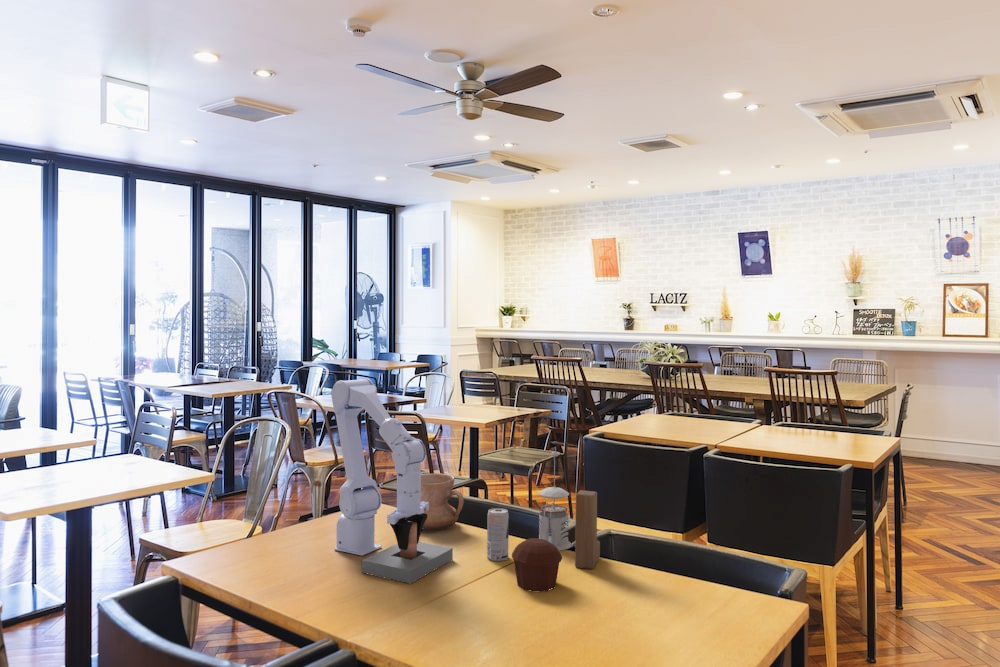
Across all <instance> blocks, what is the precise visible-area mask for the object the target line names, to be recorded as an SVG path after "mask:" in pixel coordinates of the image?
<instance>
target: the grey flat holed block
mask: <svg viewBox="0 0 1000 667" xmlns="http://www.w3.org/2000/svg"><path fill="white" fill-rule="evenodd" d="M453 553H454V552H453V547H450V546H448V547H447V546H442V545H439V544H438V545H437V544H434V543H433V544H432V543H427V542H422V541H421V542H420V541H419V542H418V544H417V557H416V558H414V559H412V560H409V559H405V558H400V549H399V547H398V543H396V544H394V545H391V546H390V547H388V548H385V549H382V550H381V551H379V552H376V553H374V554H372V555H370V556H368V557H365V558H363V559H362V560H361V573H362V572H363V573H362V574H364V573H368V574H367V575H369V574H373V575H376V576H375V577H378V576H380V577H379V578H382V577H385V578H384V579H387V578H388V579H387V580H391V579H393V580H392V581H395V580H397V581H396V582H400V581H402V582H401V583H404V582H407V583H406V584H409V583H411V584H412V582H413V583H414V581H415V580H416V581H418V580H419V578H420V577H422V576H424V575H425V574H427V573H429V572H431V571H432V572H434V571H435V570H434V569H436V568H438V567H440V566H441V567H443V566H445V565H447V564H448V563H450V562H452V561H453V558H454V557H453V555H454V554H453ZM451 560H452V561H451ZM446 563H447V564H446ZM444 564H445V565H444ZM442 565H443V566H442ZM441 567H440V568H441ZM438 569H439V568H438ZM433 570H434V571H433ZM436 570H437V569H436ZM432 572H431V573H432ZM429 574H430V573H429ZM373 575H372V576H373ZM427 575H428V574H427ZM425 576H426V575H425ZM425 576H424V577H425ZM422 578H423V577H422ZM417 579H418V580H417ZM420 579H421V578H420ZM416 581H415V582H416Z"/></svg>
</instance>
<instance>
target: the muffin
mask: <svg viewBox="0 0 1000 667" xmlns="http://www.w3.org/2000/svg"><path fill="white" fill-rule="evenodd" d="M560 551H561V550H558V548H557V547H556V546H555V545H553V544H552V543H550V542H549V541H547V540H544V539H539V537H537V538H533V537H532V538H527V539H525V540H523V541H521V542H519V543H518V544H517V545H516V547H515V548H514V549H513V551H512V553H511V558H512V560H513V563H514V569H515V576H516V578H515V579H516V583H517V586H518V587H519V588H521V589H522V588H523V589H524V591H528V590H531V591H530V592H533V591H540V592H549V591H550V590H549V589H551V588H553V589H555V588H556V585H557V579H558V573H559V566H560V563H561V561H562V560H563V554H562V553H561V552H560ZM554 587H555V588H554ZM523 589H522V590H523ZM548 590H549V591H548ZM551 590H552V589H551Z"/></svg>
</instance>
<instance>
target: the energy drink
mask: <svg viewBox="0 0 1000 667" xmlns="http://www.w3.org/2000/svg"><path fill="white" fill-rule="evenodd" d="M486 518H487V525H486V526H487V528H486V531H487V532H486V535H487V536H486V548H487V549H486V550H487V551H486V558H487V559H488V560H489V559H490V561H491V560H493V561H492V562H503V561H504V562H505V561H506V560H508V558H509V538H510V537H509V535H510V533H509V527H510V524H509V522H510V517H509V510H508V509H507V508H503V507H496V508H495V507H492V508H490V509H488V512H487V517H486Z"/></svg>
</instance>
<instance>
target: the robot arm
mask: <svg viewBox="0 0 1000 667" xmlns="http://www.w3.org/2000/svg"><path fill="white" fill-rule="evenodd" d="M377 389H378V388H377V386H376V385H375V384H374V382H373V380H371V379H370V378H362V379H352V380H351V379H349V380H347V379H346V380H341V379H340V380H337V381H336V382H335V383H334V384H333V387H332V389H331V390H330V394H331V402H332V407H333V413H334V414H335V418H336V425H337V431H338V437H339V442H340V448H341V453H342V459H343V466H344V471H345V475H346V476H345V477H346V480H345V482H344V483H343V484H342V485H341V487H340V488H339V489H338V491H339V504H338V506H339V509H340V512H341V515H339V517H338V519H337V523H336V546H335V547H334V550H335V551H338V552H343V553H344V552H345V553H349V554H353V555H358V556H366V555H367V554H368V555H369V553H372V552H374V551H376V550H378V549H380V548H381V549H382V547H383V546H382V545H381V544H378V543H377V544H376V543H375V536H376V535H375V531H376V530H375V526H376V525H375V524H376V523H375V521H376V520H375V516H376V515H378V510H379V509H380V508H381V505H382V503H383V502H382V498H383V497H382V495H381V492H380V491H379V487H378V484H377V481H376V480H375V479H373V478H372V477H370V476H369V475H368V470H367V466H366V460H365V455H364V453H365V452H364V449H363V443H362V439H361V433H360V427H359V421H358V417H359V414H360V412H361V411H363V410H365V412H366V413H367V414H368V415H369V417H370V418H372V420H374V423H376V424H377V425H378V426H379V429H378V433H379V435H380V437H381V438H382V439H383V441H384V442H385V443H386V445H387V446H388V447H389V449H390V450H391V451H392V452H391V459H392V461H393V464H394V471H395V473H396V508H395V509H393V511H392V512H391V513H389V514H387V515H386V524H389V525H390V527H391V528H392V530H393V533H394V536H395V538H396V544H398V547H399V549H403V550H406V549H407V548H408V541H409V533H410V529H411V526H412V524H413V522H408V521H414V522H417V544H418V542H420V537H421V533H422V530H423V529H422V527H423V525H424V523H425V521H426V519H427V514H425V513H424V510H425V511H427V510H429V502H423V501H422V502H421V475H422V470H421V468H422V465H421V464H422V463H423V462H424V461H425V460H426V457H427V449H426V446H425V444H424V442H423V441H422V439H419V438H415V437H414V436H412V435H411V434H410V433H409V432H408V430H407V429H406V427H404V425H403V424H402V421H401V420H400V419H399V418H396V417H391V416H390V414H389V413H388V411H387V409H386V408H385V406H384V405H383V403H382V402H381V400H380V399H379V397H378V395H377V392H378V390H377ZM360 488H361V489H360ZM356 489H358V490H356Z"/></svg>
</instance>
